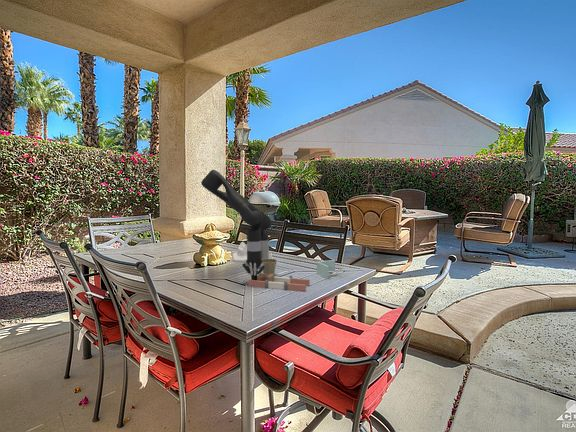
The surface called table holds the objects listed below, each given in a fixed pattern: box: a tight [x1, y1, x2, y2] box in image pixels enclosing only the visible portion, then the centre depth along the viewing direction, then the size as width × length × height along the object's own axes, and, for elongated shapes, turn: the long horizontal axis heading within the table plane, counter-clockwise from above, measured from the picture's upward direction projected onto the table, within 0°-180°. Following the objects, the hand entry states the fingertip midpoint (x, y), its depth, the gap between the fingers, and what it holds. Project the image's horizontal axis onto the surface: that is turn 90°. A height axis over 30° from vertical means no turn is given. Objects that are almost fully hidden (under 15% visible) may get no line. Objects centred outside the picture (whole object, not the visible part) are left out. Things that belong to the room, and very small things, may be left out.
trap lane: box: [247, 274, 311, 292], centre depth 158 cm, size 30×11×4 cm, turn 74°
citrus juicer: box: [232, 241, 247, 264], centre depth 211 cm, size 12×15×14 cm
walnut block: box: [257, 272, 275, 282], centre depth 160 cm, size 7×6×5 cm
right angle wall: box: [316, 259, 337, 280], centre depth 177 cm, size 12×12×8 cm
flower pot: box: [262, 258, 278, 275], centre depth 176 cm, size 9×9×9 cm
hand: (254, 281), depth 162 cm, fingers closed
